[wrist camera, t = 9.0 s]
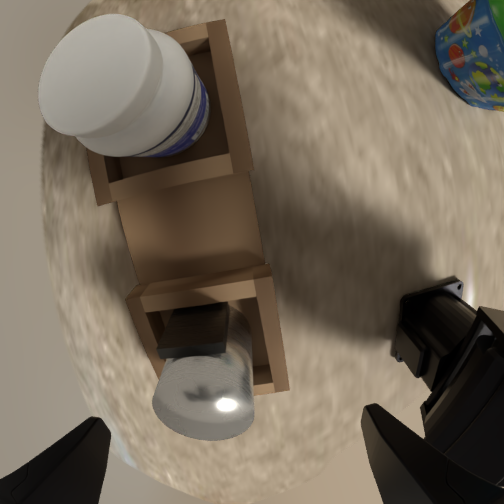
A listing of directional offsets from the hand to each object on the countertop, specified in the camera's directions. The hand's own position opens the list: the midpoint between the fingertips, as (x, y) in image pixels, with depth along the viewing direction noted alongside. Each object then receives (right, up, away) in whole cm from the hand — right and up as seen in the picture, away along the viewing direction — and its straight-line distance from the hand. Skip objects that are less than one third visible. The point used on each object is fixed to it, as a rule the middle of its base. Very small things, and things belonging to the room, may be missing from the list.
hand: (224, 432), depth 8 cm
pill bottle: (-4, +14, +7) cm, 16 cm away
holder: (-3, +7, +10) cm, 13 cm away
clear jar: (-2, +1, +10) cm, 11 cm away
